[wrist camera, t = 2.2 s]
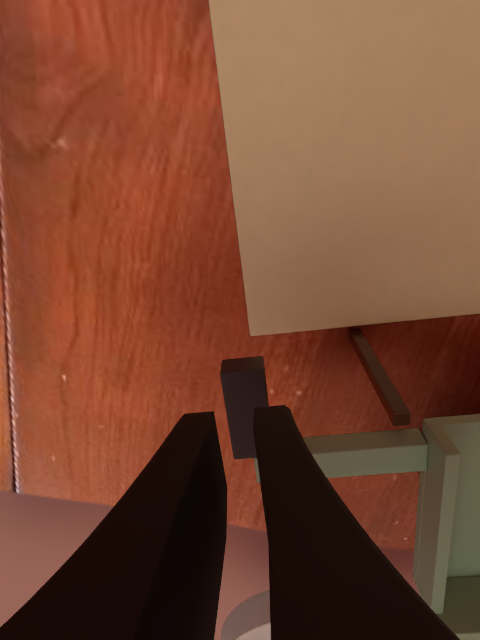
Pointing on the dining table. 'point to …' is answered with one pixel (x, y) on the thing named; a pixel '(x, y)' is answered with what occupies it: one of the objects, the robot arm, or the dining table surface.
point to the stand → (380, 380)
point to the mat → (352, 158)
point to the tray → (396, 457)
